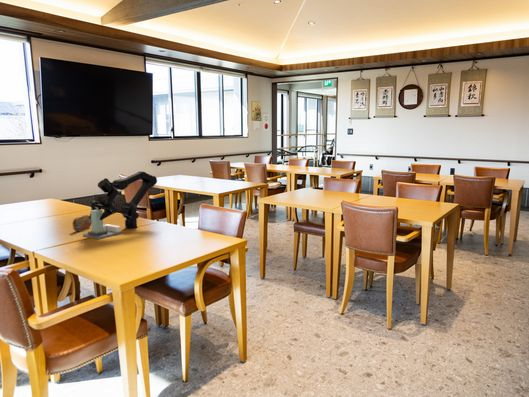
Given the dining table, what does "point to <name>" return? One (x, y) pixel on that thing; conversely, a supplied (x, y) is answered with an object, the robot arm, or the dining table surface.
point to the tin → (81, 223)
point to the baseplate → (105, 232)
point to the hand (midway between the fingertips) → (95, 219)
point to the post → (96, 221)
